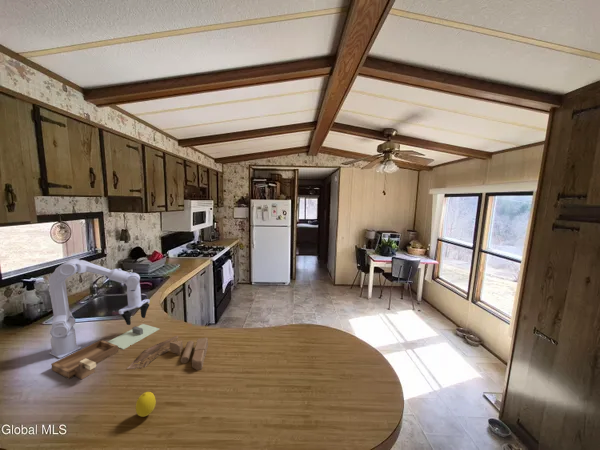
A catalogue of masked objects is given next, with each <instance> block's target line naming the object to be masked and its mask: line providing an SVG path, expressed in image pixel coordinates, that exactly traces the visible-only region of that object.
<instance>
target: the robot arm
mask: <svg viewBox="0 0 600 450" xmlns="http://www.w3.org/2000/svg"><path fill="white" fill-rule="evenodd" d="M87 272H88V273H92V274H96V275H101V276H104V277H107V278H108V280H109V281H113V282H116V283H120V284H125V285H126V294H127V295H126V296H127V305H125V306H124V307H122V308H120V309H119V310H118V314H119V315H121V317H122V318H123V319H124V321H125V323H126V325H128V326H131V318H132V317H131V316H132V312H130V311H132V310H134V309H137V308H139V310H140V316H141V318H142V319H145V318H146V315H147V311H148V310H149V307H150V303H151V302H150V299H149V298H145V299H143V300H142V294H141V284H140V280H141V276H140V274H139V273H137V272H131V271H129V272H128V271H125V270H122V268H113V269H109V268H107V267H104V266H102V265H98V264H96V263H92V262H89V261H88V260H84V259H79V258H70V259H68V260H67V261H65V262H63V263H62V264H60V265H59V266H58V267H56V268H55V270H54V271H53V273H52V274H51V275H50V277H49V278H48V286H49V287H48V288H49V294H50V299H51V306H52V313H53V319H52V322H51V329H50V331H49V334H50V336H51V338H50V347H51V351H49V354H50V355H52V356H54V357H55V358H58V359H62V358H64V357H67V356H69V355H71V354H73V353H75V352H77V351H79V350H81V349H82V346H79V345H78V344H77V338H76V330H75V328H74V326H75V325H76V319H75V317H74V316H73V313H72V312H71V311H70V306H69V299H68V291H67V285H66V280H67V279H68V278H69V277H71V276H73V275H75V274H76V273H77V274H84V273H87Z"/></svg>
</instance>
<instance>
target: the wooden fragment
mask: <svg viewBox="0 0 600 450" xmlns="http://www.w3.org/2000/svg"><path fill="white" fill-rule="evenodd" d="M178 338H179V335H176V336H173V337H171V338H169V339H166V340H164V341H162V342H160V343H157V344H154V345H153V346H150V347H149V348H146V349H144V350H143V351H142V352H140V354H138V356H137V357H136V359H134V360H133V361H132V362H131V364H130V365H129V366H128V367H127V368H126V370H127V369H134V370H136V369H135V368H139V369H143V368H146V367H147V366H149V364H150V363H151V362H152V361H154V360H155V359H157V358H158V357H160V356H161V355H164V354H166V353H167V352H169V351H170V342H176V341H178ZM139 361H141V362H140V364H134V363H138V362H139ZM133 364H134V365H133ZM142 367H143V368H142Z"/></svg>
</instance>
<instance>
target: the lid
mask: <svg viewBox="0 0 600 450" xmlns="http://www.w3.org/2000/svg"><path fill="white" fill-rule="evenodd" d="M159 330H160V328H158V327H155V326H153V325H152V326H151V325H148V324H145V323H142V324H140V325H138V326H133V327H132V328H131V329H130V330H128V331H125V332H124V333H122V334H120V335H118V336H115V337H114V338H112V339H110V340H108V341H107V342H109V343H112V344H114V345H117V346H118V349H121V350H126V349H127V348H129V347H130V345H131V346H133V345H134V344H136V343H137V342H139V341H141V340H143V339H145V338H146V337H148V336H150V335H152V334H154V333H155V332H158V331H159Z"/></svg>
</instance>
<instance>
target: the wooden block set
mask: <svg viewBox="0 0 600 450" xmlns="http://www.w3.org/2000/svg"><path fill="white" fill-rule="evenodd" d="M208 339H209V338H208V337H201V338H200V337H199V338H197V340H196V343H195V342H194V341H193V340H188V341H187V343H186V345H185V348H183V340H176V342H170V350H169V351H170V352H171V353H173V354H176V355H178V356H181V354H182V356H181V358H180V362H181V363H182V364H187V363H189V361H190V358H191V355H192V352H193V355H192V358H191V368H193V369H195V370H196V371H200V370H202V369H203V368H204V367H203V366H204V362H205V357H206V356H207V351H208V347H209V342H208ZM194 345H195V347H194ZM193 348H194V350H193ZM182 349H184V350H182ZM182 352H183V353H182Z"/></svg>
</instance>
